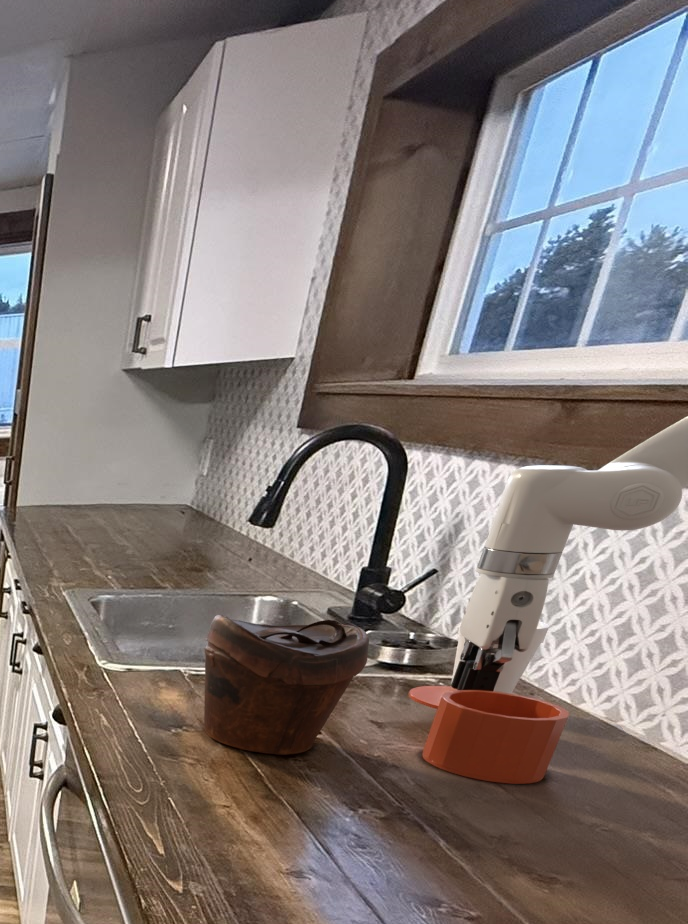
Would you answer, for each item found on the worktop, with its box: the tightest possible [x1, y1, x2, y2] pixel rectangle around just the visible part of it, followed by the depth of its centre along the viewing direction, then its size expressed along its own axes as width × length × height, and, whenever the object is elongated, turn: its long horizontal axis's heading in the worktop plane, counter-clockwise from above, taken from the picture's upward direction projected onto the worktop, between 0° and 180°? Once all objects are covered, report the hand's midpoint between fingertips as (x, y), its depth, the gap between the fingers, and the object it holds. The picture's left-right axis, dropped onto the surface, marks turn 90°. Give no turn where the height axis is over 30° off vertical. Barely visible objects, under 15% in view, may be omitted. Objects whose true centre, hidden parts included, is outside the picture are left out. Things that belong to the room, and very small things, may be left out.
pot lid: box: [408, 660, 475, 710], centre depth 117 cm, size 13×13×7 cm
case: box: [203, 614, 370, 756], centre depth 115 cm, size 18×20×18 cm
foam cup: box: [450, 620, 550, 694], centre depth 126 cm, size 10×9×13 cm
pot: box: [422, 690, 570, 785], centre depth 106 cm, size 12×12×8 cm
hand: (470, 691), depth 117 cm, fingers closed on pot lid, 2 cm apart
